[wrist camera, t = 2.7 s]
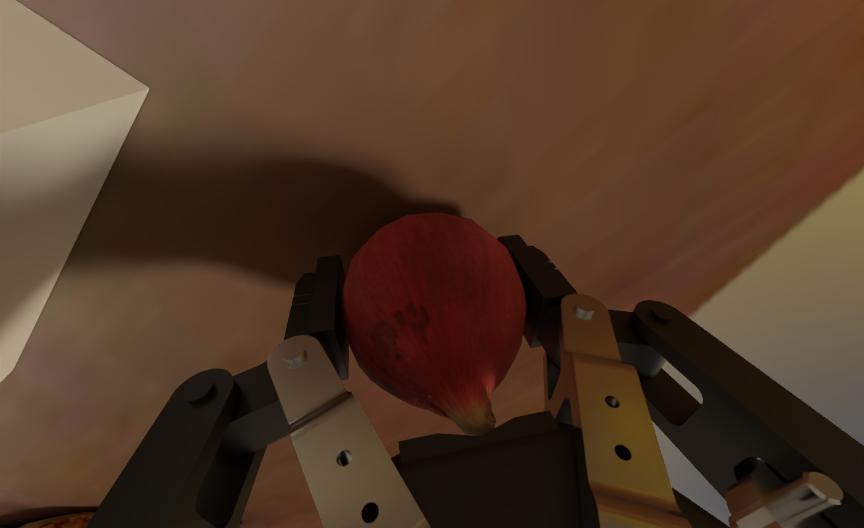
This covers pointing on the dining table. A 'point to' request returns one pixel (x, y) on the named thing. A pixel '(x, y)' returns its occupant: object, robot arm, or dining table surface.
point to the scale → (50, 158)
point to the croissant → (63, 521)
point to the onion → (435, 315)
